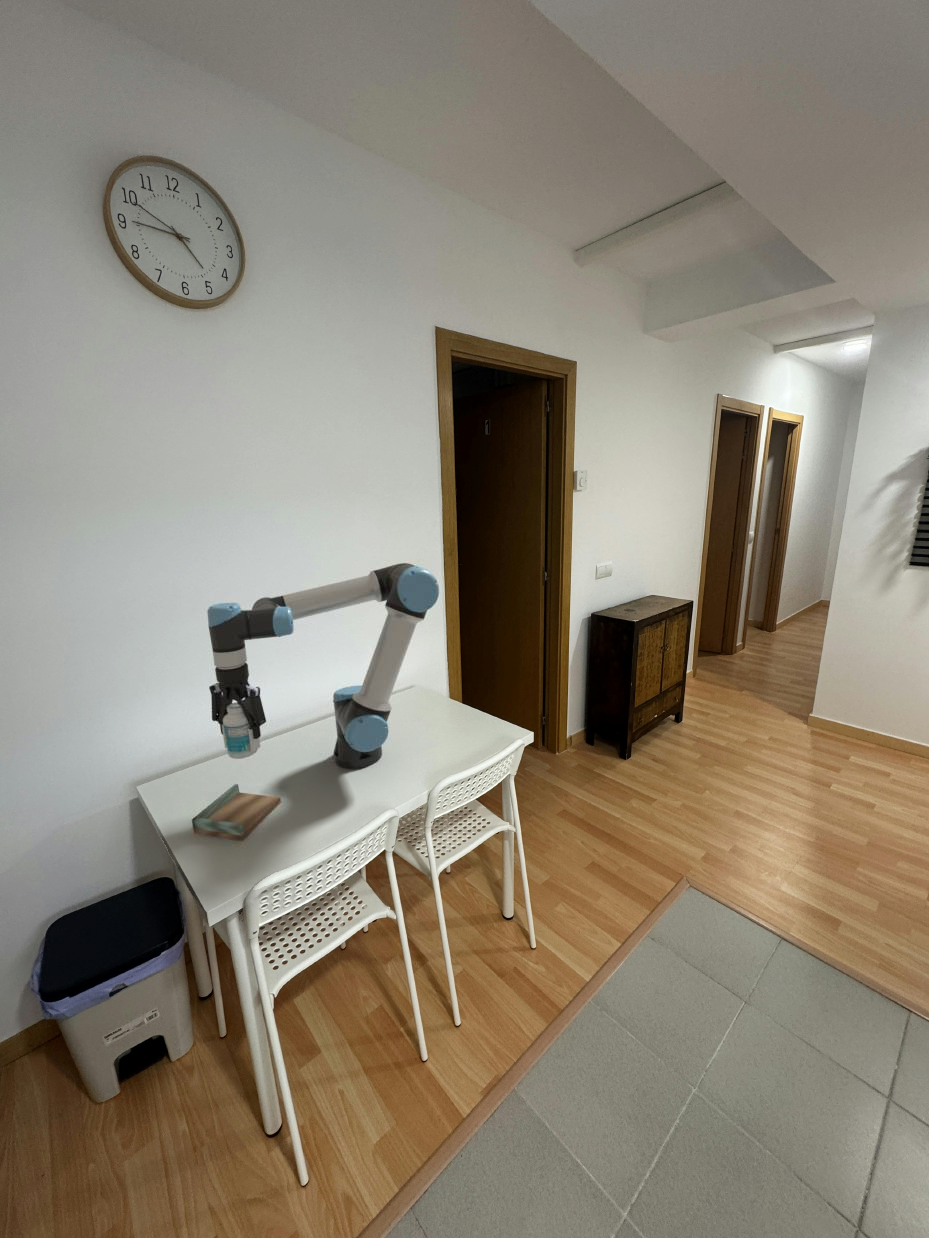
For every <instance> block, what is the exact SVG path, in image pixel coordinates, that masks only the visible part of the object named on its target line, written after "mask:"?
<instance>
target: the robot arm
mask: <svg viewBox="0 0 929 1238" xmlns="http://www.w3.org/2000/svg"><path fill="white" fill-rule="evenodd" d="M439 595H440V586H439V583H438V581H437V578H436V577H435V575H434V574H433V573H432V572H430V571H429V570H428V569H426V568H423V567H420V566H418V565H414V564H411V563H406V562H404V563H397V564H393V565H389V566H385V567H383V568H382V567H381V568H379V569H374V570H371V571H370V572H369V574H368V575H364V576H360V577H355V578H351V579H346V580H343V581H340V582H339V581H338V582H335V583H330V584H325V585H321V586H318V587H312V588H309V589H303V590H300V591H295V592H291V593H288V594H287V593H286V594H283V595H278V596H275V597H269V596H268V597H266V596H265V597H261V598H259V599H257V600H256V601H255V602H254V604H253V606H252V608H251V609H245V610H244V609H242V608H241V605H240V604H239V603H237V602H222V603H217V604H213V605H211V606H209V607H208V609H207V610H206V612H207V621H208V629H209V632H208V633H209V637H210V642H211V648H212V649H211V650H212V657H213V665H214V667H215V668H214V669H215V677H216V681H217V682H215V683H214V684H211V685H210V686H209V692H210V696H211V699H210V700H211V720H212V722H217V723H218V724H219V727H220V734H221V735H222V736H223V737H222V738H223V743H224V748H225V749H227V745H226V739H225V732H224V726H223V718H224V716H225V715H226V714H228V712H227V706H228V705H230V704H232V703H234V701H235V702H237V703H238V705H240V706H241V708H242V710H243V712H244V714H245V716H246V718H247V720H248V722H249V724H250V727H249V728H248V733H249V740H250V747H251V752H254V751H255V750H257V749H258V750H259V749H260V748H261V740H260V737H261V735H262V732H261V726H262V725H264V724H265V723H266V722H267V719H266V715H265V710H264V707H263V702H262V699H261V688H260V686H256V687H253V686H251V685H250V683H249V676H250V673H249V672H250V671H249V664H248V663H247V661H248V658H247V650H246V643H245V641H249V640H258V639H268V638H276V637H277V638H281V637H284V636H288V635H292V634H293V633H294V631H295V629H294V627H295V626H294V621H295V620H299V619H303V618H307V617H312V616H315V615H319V614H320V615H321V614H323V613H328V612H332V611H335V610H339V609H344V608H348V607H351V606H356V605H360V604H363V603H367V602H371V601H376V602H378V603H381V602H385V605H384V607H385V610H386V611H387V614H386V617H385V621H384V623H383V625H382V626H383V627H382V629H381V632H380V635H379V636H378V640H377V643H376V646H375V648H374V651H373V655H372V657H371V660H370V662H369V666H368V669H367V671H366V674H365V677H364V679H363V683H362V685H351V686H345V687H342V688H339V689H337V690H335V691H334V692H333V696H332V697H333V700H332V703H333V708H334V716H335V717H334V719H335V727H336V735H337V736H336V740H335V745H334V748H333V749H334V750H333V762H334V764H335V765H337V766H338V767H341V768H343V769H360V768H365V767H368V766H371V765H373V764H375V763H377V762H378V761H379V760H380V759H381V758H382V755H383V747H382V746H383V744H385V742H386V740H387V739H388V737H389V731H390V730H389V724H388V720H389V717H390V714H391V711H392V709H393V708H392V705H391V703H390V699H391V695H392V693H393V690H394V687H395V684H396V682H397V679H398V676H399V673H400V670H401V668H402V665H403V662H404V660H405V656H406V654H407V651H408V649H409V645H410V644H411V640H412V637H413V634H414V632H415V629H416V626H417V624H418V623H421V622H422V621H424V620H425V617H426V614H427V612H428V611H429V610H430V609H431V608H433V607H434V606H435V604H436V603H437V601H438V599H439V597H440V596H439ZM254 721H255V722H254ZM258 750H257V751H258Z"/></svg>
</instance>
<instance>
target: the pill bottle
mask: <svg viewBox="0 0 929 1238" xmlns="http://www.w3.org/2000/svg"><path fill="white" fill-rule="evenodd" d="M227 712H228V714H226V715H225V716H224V718H223V726H224V732H225V739H226V745H227V748H226V751H227V755H228V757H230V758H232V759H235V760H237V759H238V760H239V759H246V758H249V757H252V756H253V755H254V754H255V755H256V753H257V752H258V750H259V748H258V749H257V750H255V751H254V752H251V747H250V740H249V733H248V728H249V727H250V724H249V722H248V720H247V718H246V716H245V714H244V712H243V710H242V708H241V706H240V705H238V703H237V701H235V702H232V704H230V705H228V706H227ZM254 722H255V721H254Z"/></svg>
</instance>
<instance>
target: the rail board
mask: <svg viewBox="0 0 929 1238" xmlns="http://www.w3.org/2000/svg"><path fill="white" fill-rule="evenodd" d="M281 803H282V801H281V797H279V796H270V795H263V794H261V795H260V794H254V793H247V792H240V787H239V784H237V783H234V784H233V785H231V787H230V788H228V789H227V790H226V791H225V792H224V793H223V794H221V795H220V796H218V798H216V799H215V800H214V801H212V802H211V803H209V805H208V806H207V807H205V808H204V809H202V810H201V811H200V812H199V813H198V814H197V815H195V816H193V818H192V819H191V823H192V828H193V833H194V834H195V835H200V836H201V835H202V836H207V837H208V836H209V837H214V838H219V839H220V838H221V839H227V840H234V841H240V842H243V841H244V840H245V839H246V838H247V837H248V836H249V835H250V834H251V833H252V832H253V831H254V830H255V829H256V828H257V827H258V826H259V825H260V824H261V823H262V822H263V821H264V820H265V819H266V818H267V817H268V816H269V815H270V814H271V813H272V812H273V811H274V810H276V808H278V806H279V805H280V804H281Z"/></svg>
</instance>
